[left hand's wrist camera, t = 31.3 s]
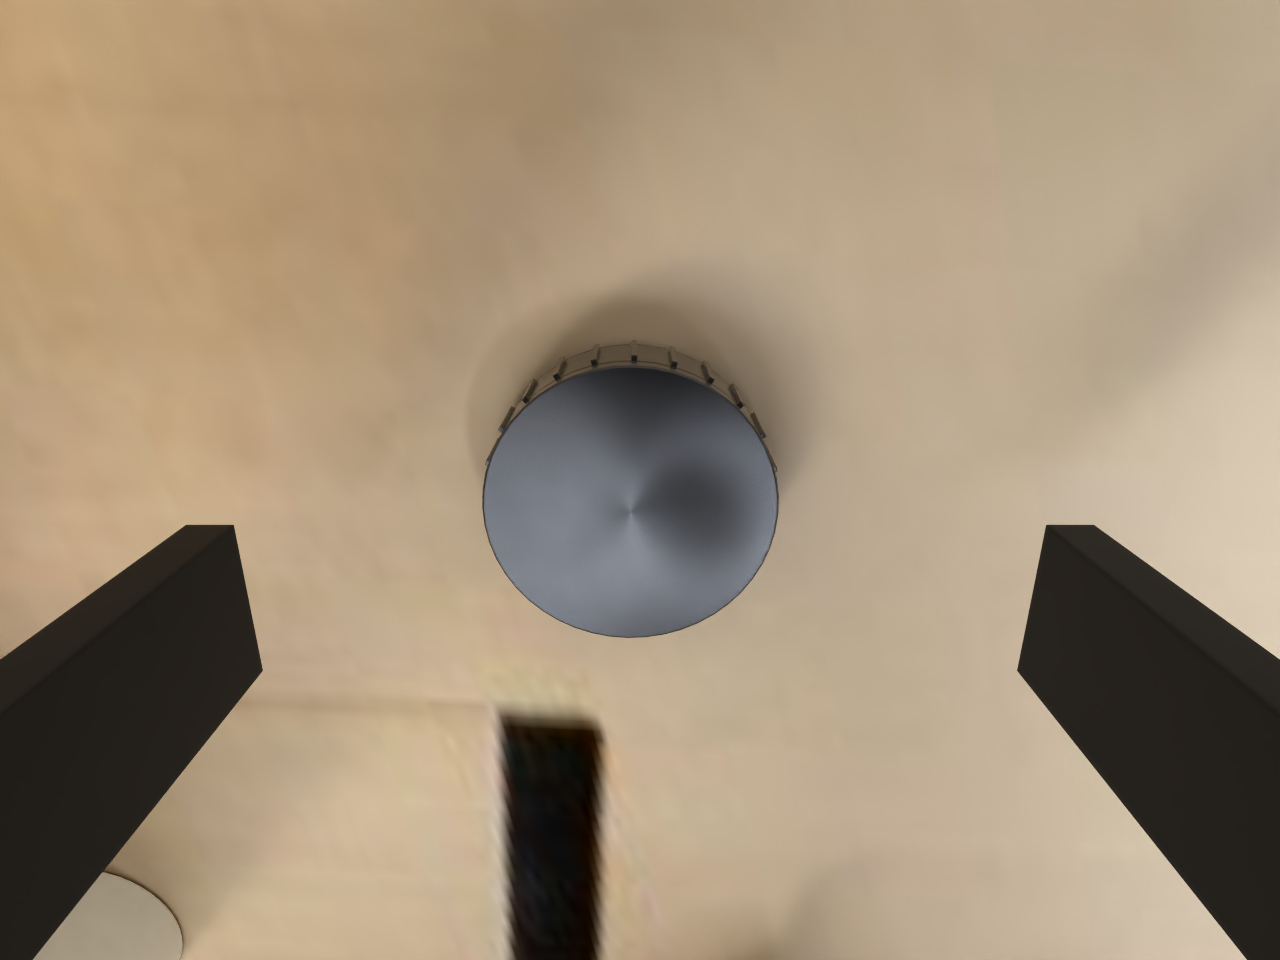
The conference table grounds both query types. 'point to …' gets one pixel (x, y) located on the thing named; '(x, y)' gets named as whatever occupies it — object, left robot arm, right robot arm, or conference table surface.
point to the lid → (630, 492)
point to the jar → (116, 926)
